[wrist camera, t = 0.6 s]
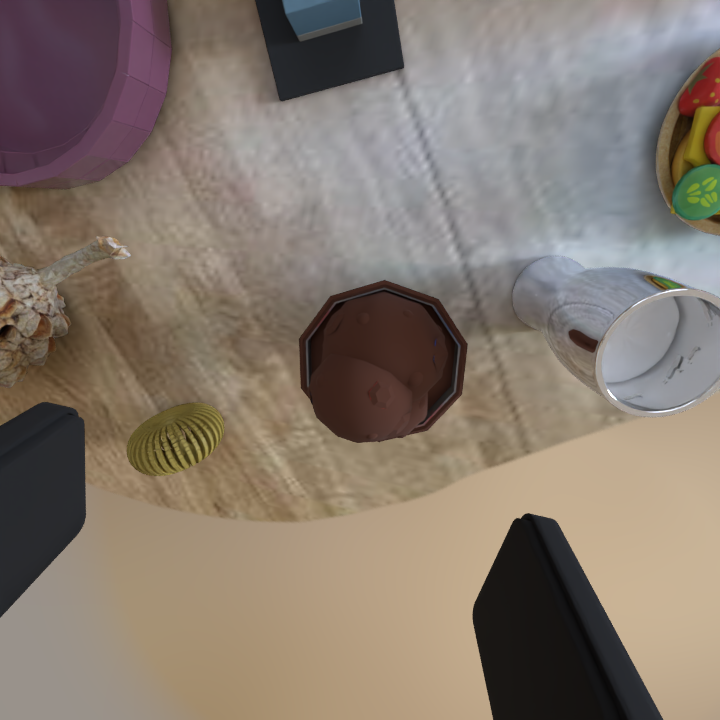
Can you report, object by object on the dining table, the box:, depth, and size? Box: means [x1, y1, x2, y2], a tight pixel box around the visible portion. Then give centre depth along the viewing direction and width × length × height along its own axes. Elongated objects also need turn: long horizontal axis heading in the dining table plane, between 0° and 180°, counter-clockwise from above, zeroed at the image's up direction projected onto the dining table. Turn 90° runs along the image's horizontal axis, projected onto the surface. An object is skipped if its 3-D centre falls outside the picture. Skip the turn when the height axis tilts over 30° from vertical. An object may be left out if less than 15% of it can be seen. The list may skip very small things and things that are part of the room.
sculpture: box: [127, 403, 224, 476], centre depth 36 cm, size 8×4×8 cm, turn 106°
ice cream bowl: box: [299, 280, 468, 443], centre depth 28 cm, size 11×11×15 cm
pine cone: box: [0, 236, 131, 388], centre depth 31 cm, size 22×10×10 cm, turn 123°
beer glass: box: [512, 256, 720, 417], centre depth 27 cm, size 7×7×15 cm
